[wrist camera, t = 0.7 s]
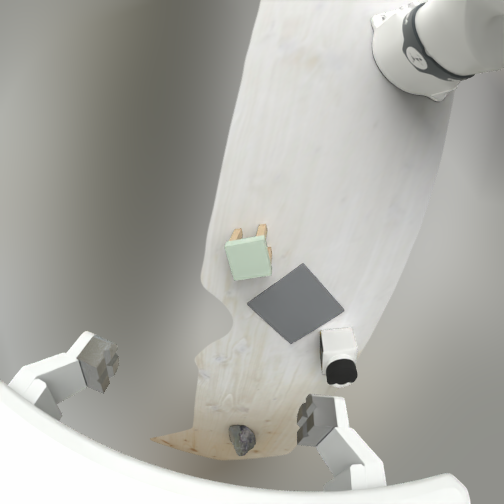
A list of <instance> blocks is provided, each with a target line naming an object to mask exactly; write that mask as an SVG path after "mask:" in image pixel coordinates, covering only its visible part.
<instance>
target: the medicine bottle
mask: <svg viewBox="0 0 504 504" xmlns="http://www.w3.org/2000/svg"><path fill="white" fill-rule="evenodd" d="M357 352H358V348H357V344H356V340H355V336H354V333H353V329H352V327H347V328H339V329H329V330H321V331H320V358H321V368H322V374H323V375H326V376H327V382H328V384H329V385H331V386H332V387H336V388H342V387H346V386H348V385H350V384H352V383H353V382H354V381H355V380H356V378H357V370H356V359H357Z"/></svg>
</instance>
